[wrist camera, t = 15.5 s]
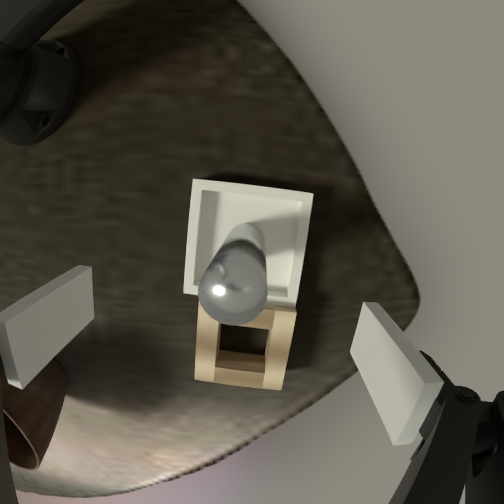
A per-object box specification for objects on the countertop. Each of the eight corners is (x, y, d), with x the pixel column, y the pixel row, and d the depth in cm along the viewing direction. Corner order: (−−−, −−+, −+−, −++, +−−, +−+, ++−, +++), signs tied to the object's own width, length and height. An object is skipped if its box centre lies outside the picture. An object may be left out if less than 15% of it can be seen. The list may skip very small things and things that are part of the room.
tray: (198, 179, 33) (193, 178, 31) (309, 192, 33) (313, 193, 31) (188, 285, 36) (183, 292, 33) (293, 299, 36) (295, 307, 33)
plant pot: (76, 423, 42) (35, 483, 26) (12, 372, 41) (-39, 419, 25) (98, 372, 39) (43, 442, 24) (23, 313, 38) (-46, 359, 22)
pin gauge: (229, 221, 33) (200, 255, 18) (267, 225, 33) (272, 264, 18) (225, 257, 34) (195, 320, 18) (262, 262, 34) (262, 329, 18)
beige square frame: (205, 288, 36) (199, 300, 32) (293, 299, 36) (296, 312, 32) (200, 361, 38) (194, 379, 34) (279, 371, 38) (281, 390, 34)
